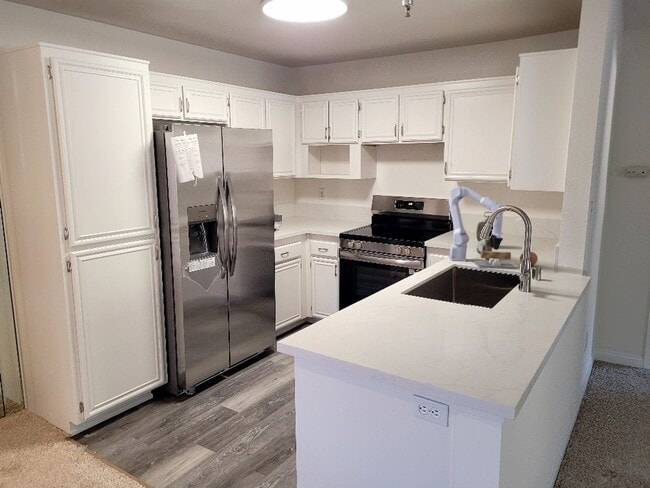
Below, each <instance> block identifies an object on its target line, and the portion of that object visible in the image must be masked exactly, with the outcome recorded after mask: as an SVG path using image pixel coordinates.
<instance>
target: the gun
mask: <svg viewBox="0 0 650 488" xmlns="http://www.w3.org/2000/svg"><path fill="white" fill-rule="evenodd" d="M477 242H478V243H477V246H476V252H477V253H480V254H481V251H493V249H492V247H491V246H490V239H489V240H483V239H480V240H479V241H477ZM484 259H486V260H487V259H488V260H489V259H491V258H484Z"/></svg>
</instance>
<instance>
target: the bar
mask: <svg viewBox="0 0 650 488" xmlns="http://www.w3.org/2000/svg"><path fill="white" fill-rule="evenodd" d="M511 257H512V253H511V252H509V251H493V250H492V251H481V253H480V258H481V259H485V258H493V259H499V260H511Z"/></svg>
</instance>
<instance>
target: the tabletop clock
mask: <svg viewBox="0 0 650 488" xmlns="http://www.w3.org/2000/svg"><path fill="white" fill-rule="evenodd" d="M486 214H492V212H491V211H485V212H484V213H483V217H485V219H484V221H479V222H478V223H477V225H476V226H477V227H476V230H475V231H476V232H475V233H476V240H477V242H479V240H480V239H481V238H480V234H481V231H482V229H483V227H484V226H485V224H486V223H487V221H488V219H489V217H491V216H490V215H488V216H486Z"/></svg>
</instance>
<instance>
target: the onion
mask: <svg viewBox="0 0 650 488" xmlns="http://www.w3.org/2000/svg"><path fill="white" fill-rule="evenodd" d="M538 258H539V257H538V255H537V254H536V253H535V252H534V251H530V262H531V267H534V266H535V265H537V262H538V260H539V259H538ZM522 259H523V252H522V253H521V255H520V256H519V261H520V262H521V260H522Z"/></svg>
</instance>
